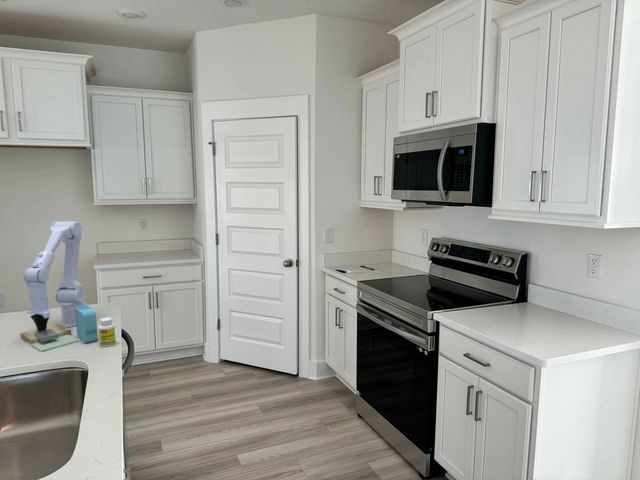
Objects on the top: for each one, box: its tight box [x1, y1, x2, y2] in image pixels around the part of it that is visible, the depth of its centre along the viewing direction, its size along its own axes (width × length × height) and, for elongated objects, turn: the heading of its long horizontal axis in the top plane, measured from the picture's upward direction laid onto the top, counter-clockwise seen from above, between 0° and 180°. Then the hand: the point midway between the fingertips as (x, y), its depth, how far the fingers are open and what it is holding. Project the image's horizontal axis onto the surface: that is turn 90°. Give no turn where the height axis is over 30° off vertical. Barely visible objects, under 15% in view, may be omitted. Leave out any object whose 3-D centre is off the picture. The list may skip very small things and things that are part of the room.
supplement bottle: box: [98, 317, 117, 347], centre depth 165 cm, size 5×5×10 cm
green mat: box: [30, 335, 80, 353], centre depth 167 cm, size 13×10×1 cm
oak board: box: [19, 323, 73, 345], centre depth 174 cm, size 14×12×2 cm
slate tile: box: [34, 329, 58, 342], centre depth 168 cm, size 6×8×2 cm
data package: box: [75, 304, 99, 344], centre depth 171 cm, size 12×4×12 cm, turn 42°
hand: (42, 332), depth 171 cm, fingers closed
